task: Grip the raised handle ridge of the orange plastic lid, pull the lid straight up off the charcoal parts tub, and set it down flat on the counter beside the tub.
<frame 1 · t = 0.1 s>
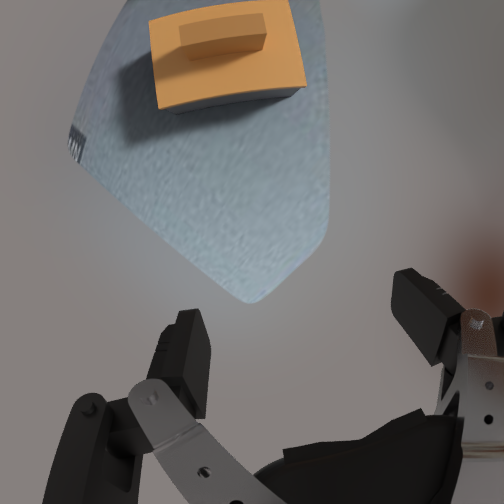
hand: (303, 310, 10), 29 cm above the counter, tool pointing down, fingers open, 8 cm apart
lid: (224, 48, 24), point 7 cm above the counter, touching tub
tub: (226, 64, 30), on the counter
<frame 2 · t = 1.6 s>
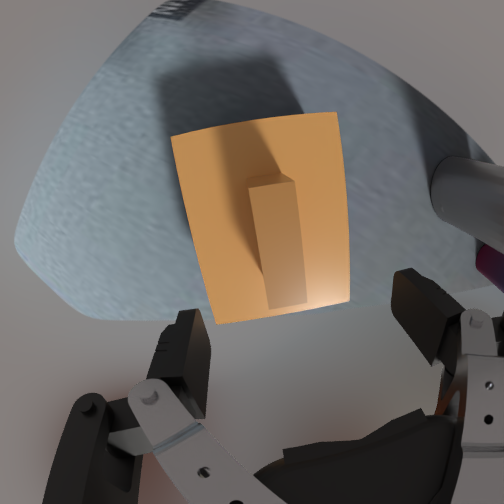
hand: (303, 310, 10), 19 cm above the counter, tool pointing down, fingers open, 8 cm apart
lid: (270, 223, 22), point 7 cm above the counter, touching tub
cup: (483, 256, 32), on the counter
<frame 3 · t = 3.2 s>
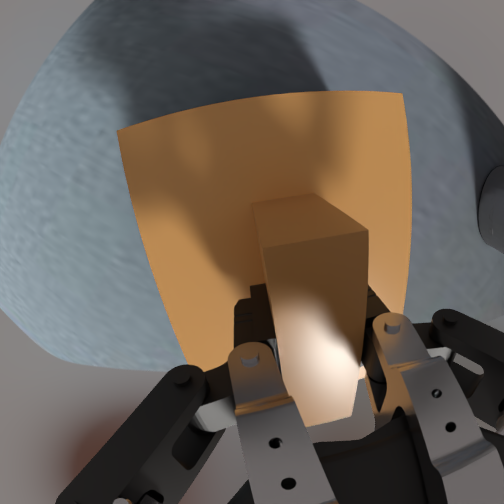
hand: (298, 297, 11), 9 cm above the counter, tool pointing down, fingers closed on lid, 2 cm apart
lid: (290, 274, 13), point 7 cm above the counter, touching gripper, tub
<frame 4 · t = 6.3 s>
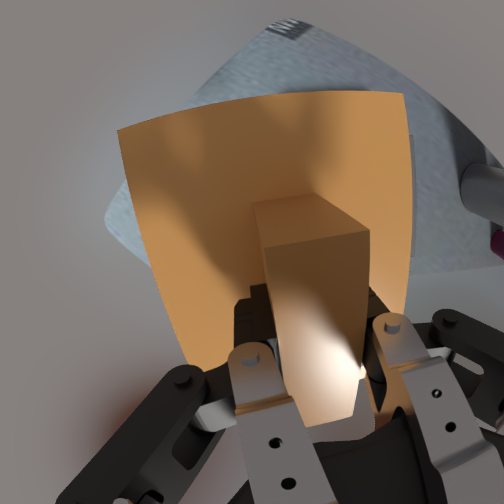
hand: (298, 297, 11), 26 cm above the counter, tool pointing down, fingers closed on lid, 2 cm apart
lid: (290, 274, 13), point 24 cm above the counter, touching gripper
tub: (355, 192, 36), on the counter
cup: (496, 240, 39), on the counter
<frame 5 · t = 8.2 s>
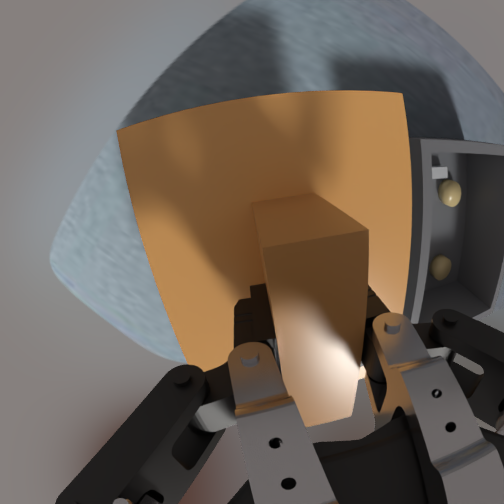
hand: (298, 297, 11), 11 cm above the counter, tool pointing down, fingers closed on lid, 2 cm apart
lid: (290, 274, 13), point 9 cm above the counter, touching gripper
tub: (426, 222, 22), on the counter
when the fingers open (5 cm above the counter, at t = 9.7 s): lid drops 2 cm, point 1 cm above the counter.
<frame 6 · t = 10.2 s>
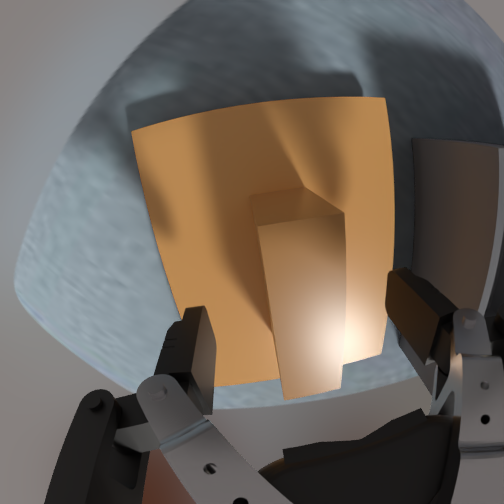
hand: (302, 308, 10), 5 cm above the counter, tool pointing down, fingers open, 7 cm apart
lid: (284, 260, 15), point 1 cm above the counter
tub: (467, 244, 16), on the counter
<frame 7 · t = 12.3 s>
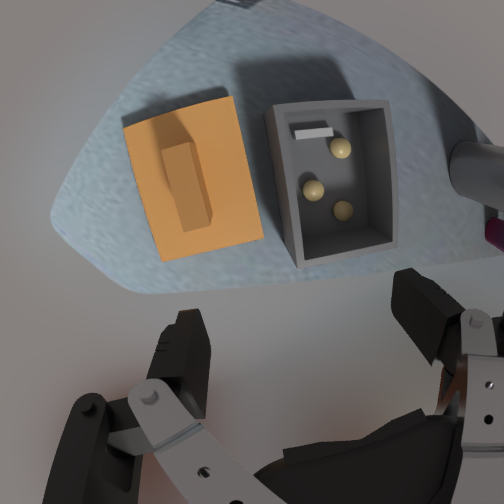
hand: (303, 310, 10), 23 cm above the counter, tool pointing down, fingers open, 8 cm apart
lid: (193, 180, 29), point 1 cm above the counter
tub: (323, 173, 31), on the counter
cup: (490, 229, 36), on the counter
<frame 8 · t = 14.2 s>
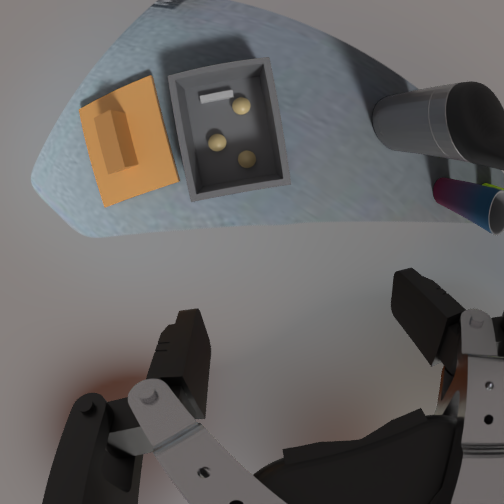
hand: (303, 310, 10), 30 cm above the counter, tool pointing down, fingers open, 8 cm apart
lid: (126, 141, 33), point 1 cm above the counter
tub: (230, 129, 35), on the counter
cup: (441, 190, 39), on the counter
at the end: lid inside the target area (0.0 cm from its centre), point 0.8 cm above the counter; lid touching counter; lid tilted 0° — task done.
